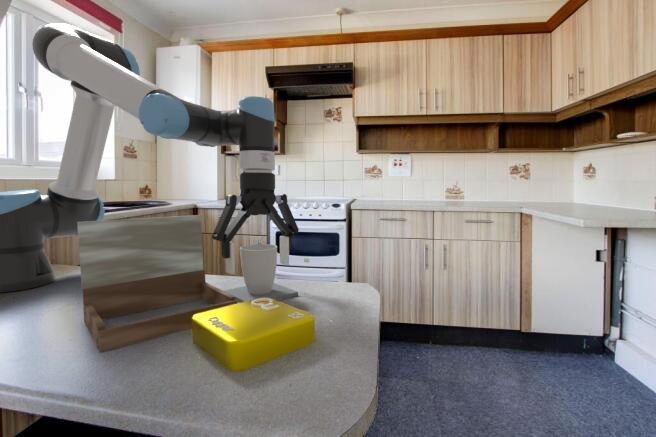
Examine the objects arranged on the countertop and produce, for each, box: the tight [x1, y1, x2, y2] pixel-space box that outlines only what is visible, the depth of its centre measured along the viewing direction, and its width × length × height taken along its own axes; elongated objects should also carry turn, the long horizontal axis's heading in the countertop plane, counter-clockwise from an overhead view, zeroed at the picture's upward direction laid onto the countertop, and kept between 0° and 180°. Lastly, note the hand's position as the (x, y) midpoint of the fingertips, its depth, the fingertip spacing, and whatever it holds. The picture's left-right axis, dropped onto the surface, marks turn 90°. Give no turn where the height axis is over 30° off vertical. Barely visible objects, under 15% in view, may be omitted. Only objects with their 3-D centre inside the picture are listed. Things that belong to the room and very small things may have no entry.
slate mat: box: [223, 282, 299, 303], centre depth 80 cm, size 12×12×1 cm
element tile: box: [191, 297, 316, 372], centre depth 57 cm, size 15×15×5 cm
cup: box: [239, 243, 278, 295], centre depth 80 cm, size 8×8×10 cm
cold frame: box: [77, 214, 239, 353], centre depth 65 cm, size 17×22×18 cm
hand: (258, 268), depth 80 cm, fingers open, 13 cm apart
